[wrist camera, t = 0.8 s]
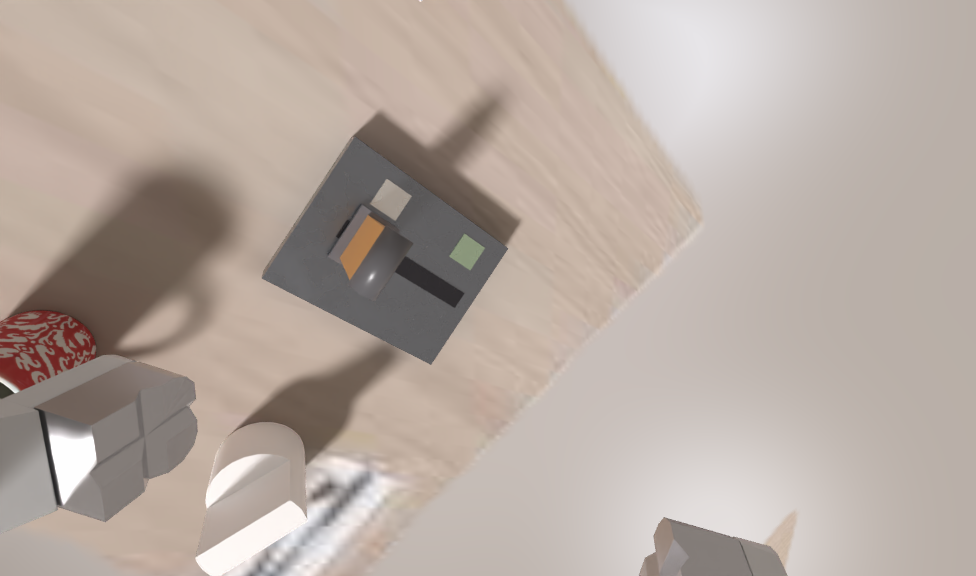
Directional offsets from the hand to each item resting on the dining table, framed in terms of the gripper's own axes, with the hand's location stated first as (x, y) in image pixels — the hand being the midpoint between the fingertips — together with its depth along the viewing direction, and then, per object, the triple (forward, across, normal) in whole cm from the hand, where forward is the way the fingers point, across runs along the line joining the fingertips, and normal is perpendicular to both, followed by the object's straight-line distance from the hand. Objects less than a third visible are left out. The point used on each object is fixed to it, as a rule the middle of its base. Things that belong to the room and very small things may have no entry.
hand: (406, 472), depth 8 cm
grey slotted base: (+40, +16, +10) cm, 44 cm away
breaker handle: (+35, +18, +8) cm, 40 cm away
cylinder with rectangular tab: (+31, +26, +33) cm, 52 cm away
